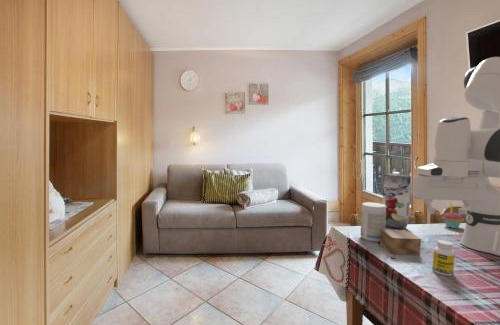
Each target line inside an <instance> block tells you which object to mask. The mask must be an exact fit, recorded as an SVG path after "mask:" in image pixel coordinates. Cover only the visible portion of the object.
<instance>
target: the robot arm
mask: <svg viewBox="0 0 500 325" xmlns="http://www.w3.org/2000/svg"><path fill="white" fill-rule="evenodd" d="M463 86H464V89H465V90H464V98H465V101H466V102H467V104H469V105H470V106H472V107H473V108H475V109H478V110H481V114H480V119H479V125H478V128H471V119H470V118H469V117H466V116H454V117H452V116H451V117H445V118H442V119H441V120H439V121H438V123H437V127H436V132H435V138H434V149H435V154H434V157H433V163H428V164H426V165H421V166H418V167H416V169H415V173H416V174H417V175H415V177H414V178H413V182H412V186H411V188H412V189H411V190H412V191H411V195H413V198H414V199H415V198H416V199H418V200H423V203H424V204H425V206H426V213H427V214H430V215H431V214H433V215H435V214H436V208H435V207H433V206H432V204H433V200H434V201H435V200H437V201H462V204H463V205H462V206H461V207H458V211H457V214H460V215H461V216H465V227H464V230H463V234H462V237H461V238H460V241H459V243H460V244H461V245H463V246H464V247H467V248H468V249H469V248H470V249H472V250H475V251H479V252H484V253H488V254H492V255H495V256H498V257H500V188H499V187H497V186H495V185H493V184H492V183H491V182H490V180H489V178H496V179H498V178H499V179H500V56H493V57H489V58H486V59H484V60H482V61H481V62H479V64H478V65H477V66H476V65H475V66H473V67H471V68H469V70H467V71H466V72H465V74H464V78H463Z"/></svg>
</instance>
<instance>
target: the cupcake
mask: <svg viewBox="0 0 500 325" xmlns="http://www.w3.org/2000/svg"><path fill="white" fill-rule="evenodd" d="M442 219H443V221H444V223H445V226H446V227H447V228H449V227H451V228H450V229H459V227H460V225H461V224H462V223H463V222H464V223H465V218H464V216H463V215H461V214H459V213H458V212H457V213H456V212H453V204H452V203H450V211H449V212H446V213H443V214H442Z"/></svg>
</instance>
